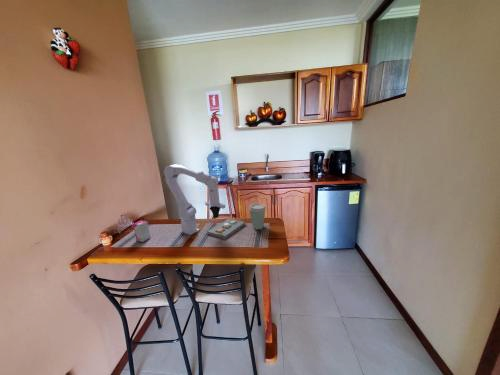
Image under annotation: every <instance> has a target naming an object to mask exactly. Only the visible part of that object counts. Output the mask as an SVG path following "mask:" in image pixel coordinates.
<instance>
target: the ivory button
mask: <svg viewBox="0 0 500 375" xmlns="http://www.w3.org/2000/svg"><path fill="white" fill-rule="evenodd" d="M224 228H226V229H228V228H230V224H229V223H225V224H224Z"/></svg>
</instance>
